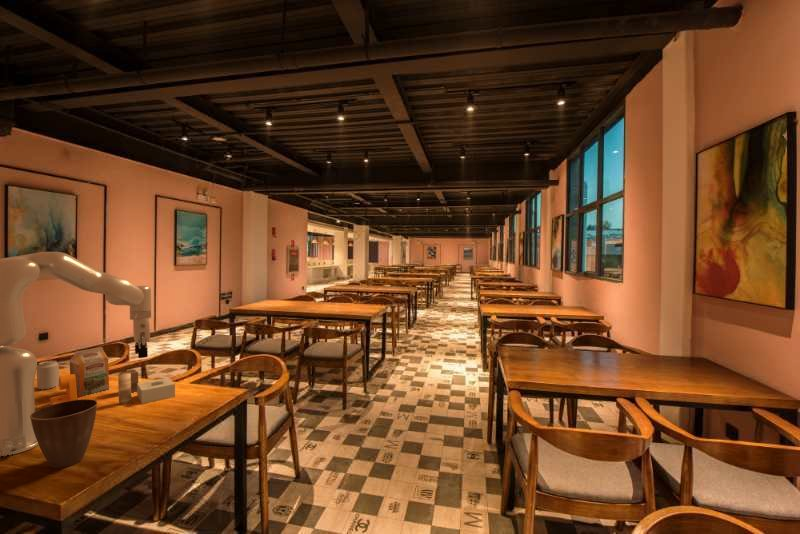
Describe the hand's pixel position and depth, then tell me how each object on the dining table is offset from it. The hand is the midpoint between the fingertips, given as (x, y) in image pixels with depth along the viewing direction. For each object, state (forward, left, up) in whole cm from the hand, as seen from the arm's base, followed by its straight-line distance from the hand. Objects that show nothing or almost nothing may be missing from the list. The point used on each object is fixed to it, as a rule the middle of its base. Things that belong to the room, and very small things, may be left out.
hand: (141, 355), depth 162 cm
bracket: (+14, +25, -19) cm, 34 cm away
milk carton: (+27, +16, -19) cm, 37 cm away
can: (+46, +30, -19) cm, 58 cm away
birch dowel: (0, +6, -19) cm, 20 cm away
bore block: (0, -5, -19) cm, 20 cm away
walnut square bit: (+14, +3, -19) cm, 24 cm away
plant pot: (-44, +25, -19) cm, 54 cm away
